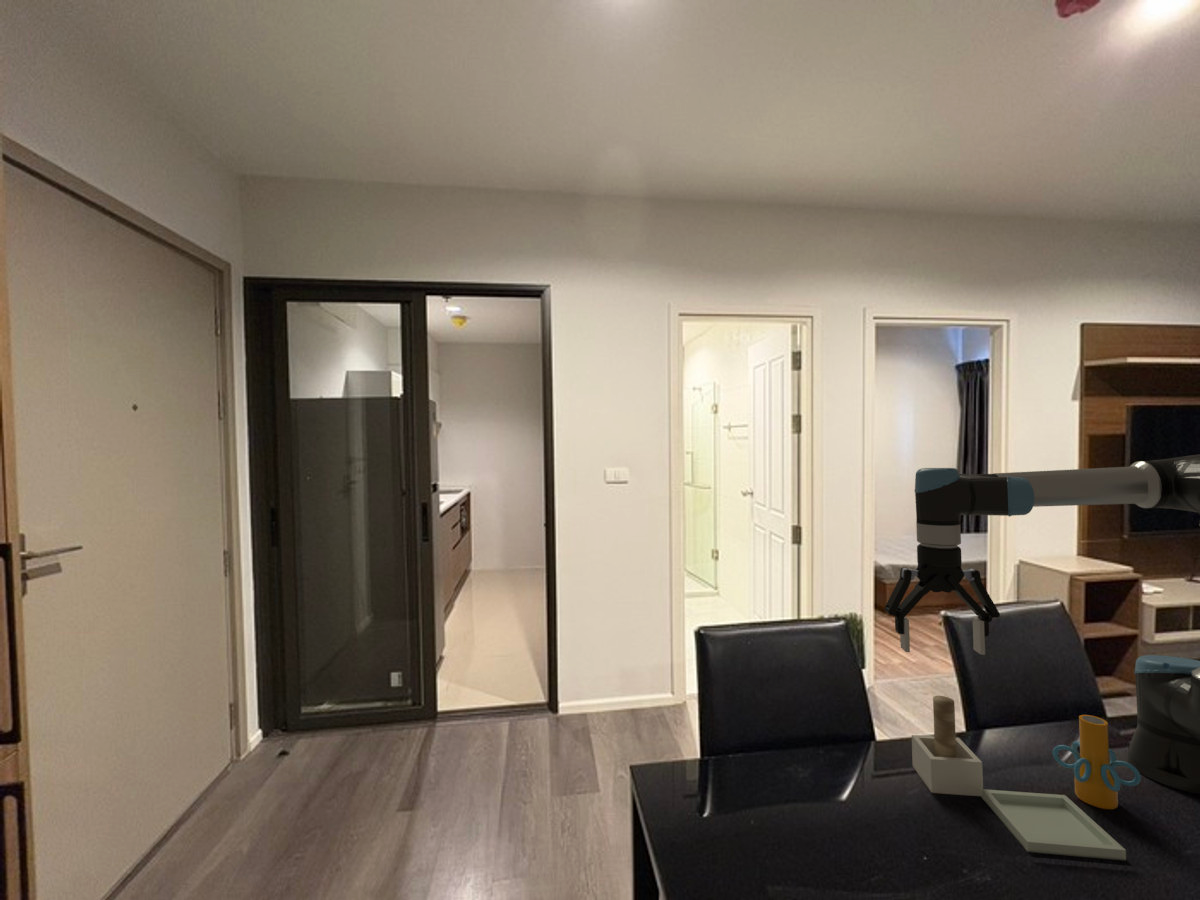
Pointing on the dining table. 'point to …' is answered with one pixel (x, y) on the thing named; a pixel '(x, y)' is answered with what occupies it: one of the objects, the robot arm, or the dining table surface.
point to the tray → (1052, 825)
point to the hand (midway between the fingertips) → (941, 651)
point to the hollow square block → (947, 768)
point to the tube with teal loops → (1095, 765)
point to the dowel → (944, 727)
